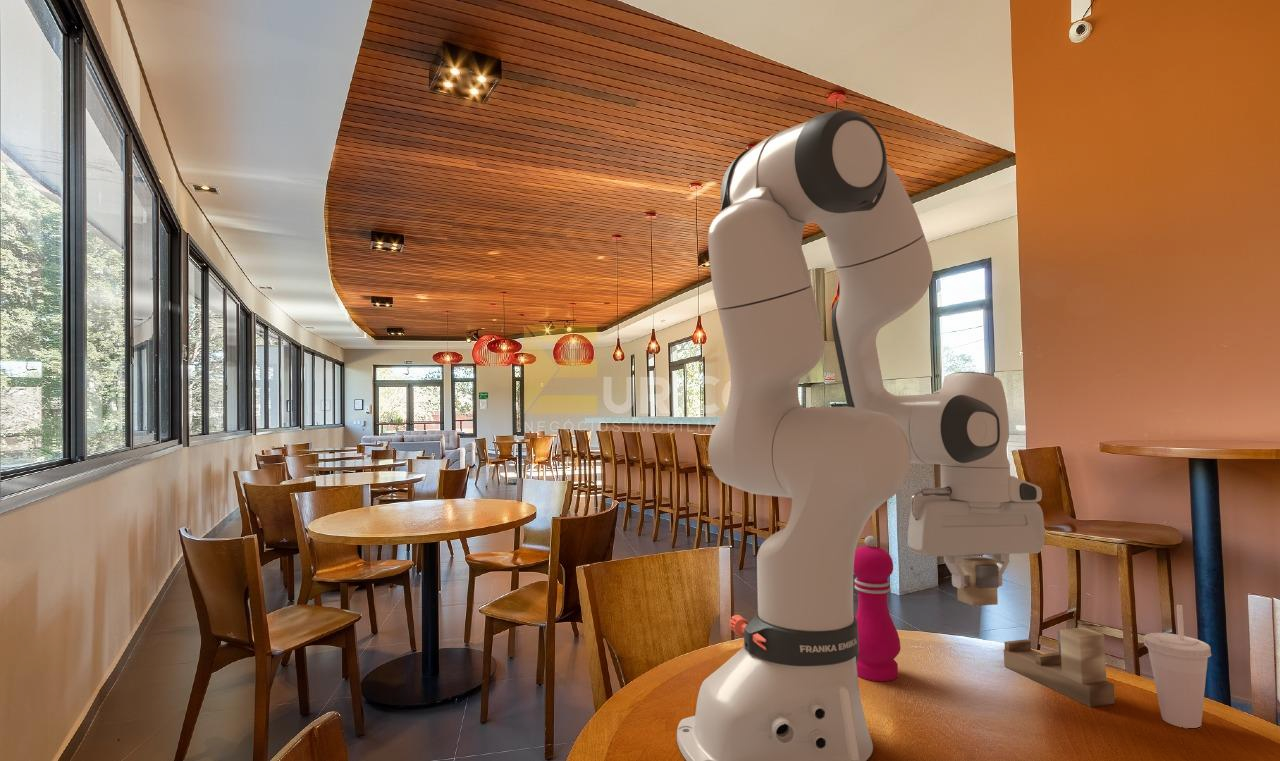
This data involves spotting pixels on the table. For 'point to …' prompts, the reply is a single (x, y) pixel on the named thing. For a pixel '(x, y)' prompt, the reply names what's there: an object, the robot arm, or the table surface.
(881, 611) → the pepper mill
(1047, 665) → the rail
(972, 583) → the grey-banded wooden block
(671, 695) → the table surface
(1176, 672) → the smoothie
